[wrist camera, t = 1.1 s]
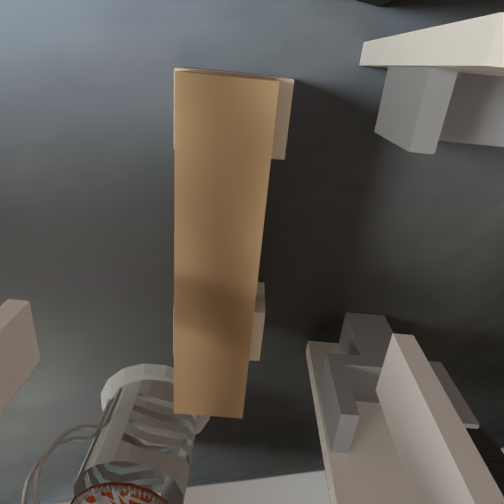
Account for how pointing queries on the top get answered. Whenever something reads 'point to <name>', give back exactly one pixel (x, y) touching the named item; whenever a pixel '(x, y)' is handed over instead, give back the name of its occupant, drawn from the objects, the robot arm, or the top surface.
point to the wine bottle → (375, 2)
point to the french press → (134, 441)
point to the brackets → (376, 326)
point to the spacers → (277, 153)
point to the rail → (218, 232)
